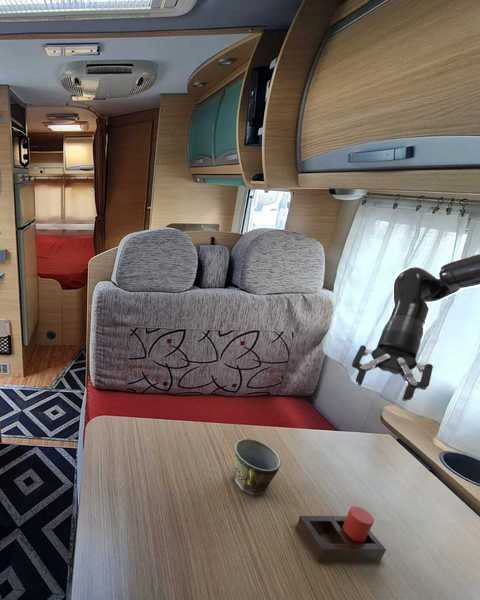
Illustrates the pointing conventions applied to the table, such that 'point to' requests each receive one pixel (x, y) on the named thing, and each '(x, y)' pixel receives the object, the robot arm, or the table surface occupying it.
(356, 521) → the red cylinder
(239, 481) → the ceramic cup
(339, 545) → the two-compartment tray
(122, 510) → the table surface
